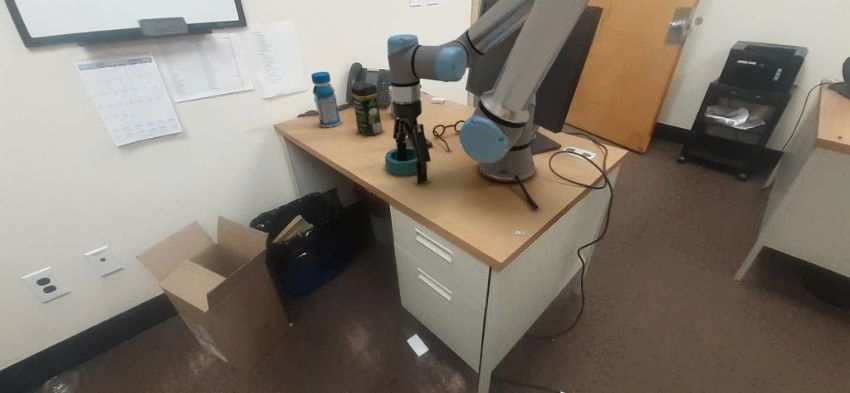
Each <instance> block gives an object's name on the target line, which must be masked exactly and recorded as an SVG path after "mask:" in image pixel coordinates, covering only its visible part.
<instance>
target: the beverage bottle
mask: <svg viewBox="0 0 850 393" xmlns="http://www.w3.org/2000/svg"><path fill="white" fill-rule="evenodd" d="M311 82H312V84H313V85H314V86H313V89H312V94H313V95H314V97H313V101H314V103H315V107H316V112H317V115H318V120H319V125H320V126H321V127H324V128H332V127H335V126H338V125H339V124H340V123H341V118H340V114H339V109H338V103H337V95H336V94H335V88H334V86H333V85H332V84H331V76H330V72H329V71H317V72H313V73H311Z"/></svg>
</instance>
